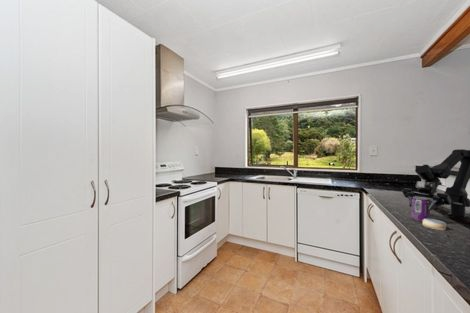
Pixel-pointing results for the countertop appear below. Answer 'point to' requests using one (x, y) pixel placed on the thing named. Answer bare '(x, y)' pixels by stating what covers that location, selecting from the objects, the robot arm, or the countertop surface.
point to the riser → (434, 224)
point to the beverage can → (420, 208)
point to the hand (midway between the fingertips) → (419, 208)
